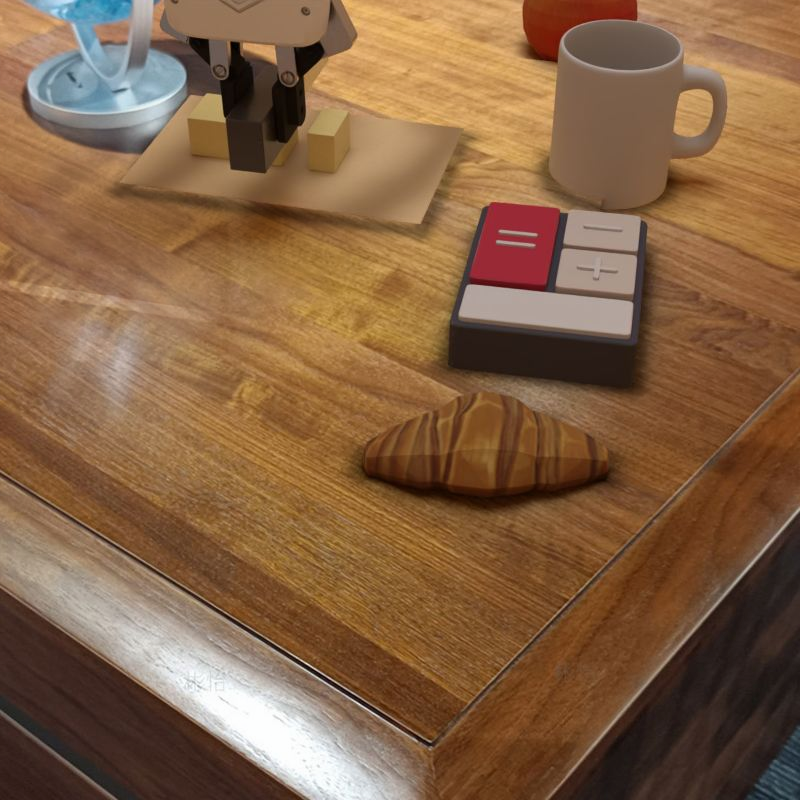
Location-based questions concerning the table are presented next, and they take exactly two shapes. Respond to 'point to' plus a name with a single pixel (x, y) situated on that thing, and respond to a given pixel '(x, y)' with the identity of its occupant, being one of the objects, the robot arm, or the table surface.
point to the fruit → (567, 20)
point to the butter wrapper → (300, 187)
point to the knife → (259, 122)
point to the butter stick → (219, 131)
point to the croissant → (486, 450)
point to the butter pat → (328, 140)
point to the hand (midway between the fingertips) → (266, 128)
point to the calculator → (551, 295)
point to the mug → (625, 111)
